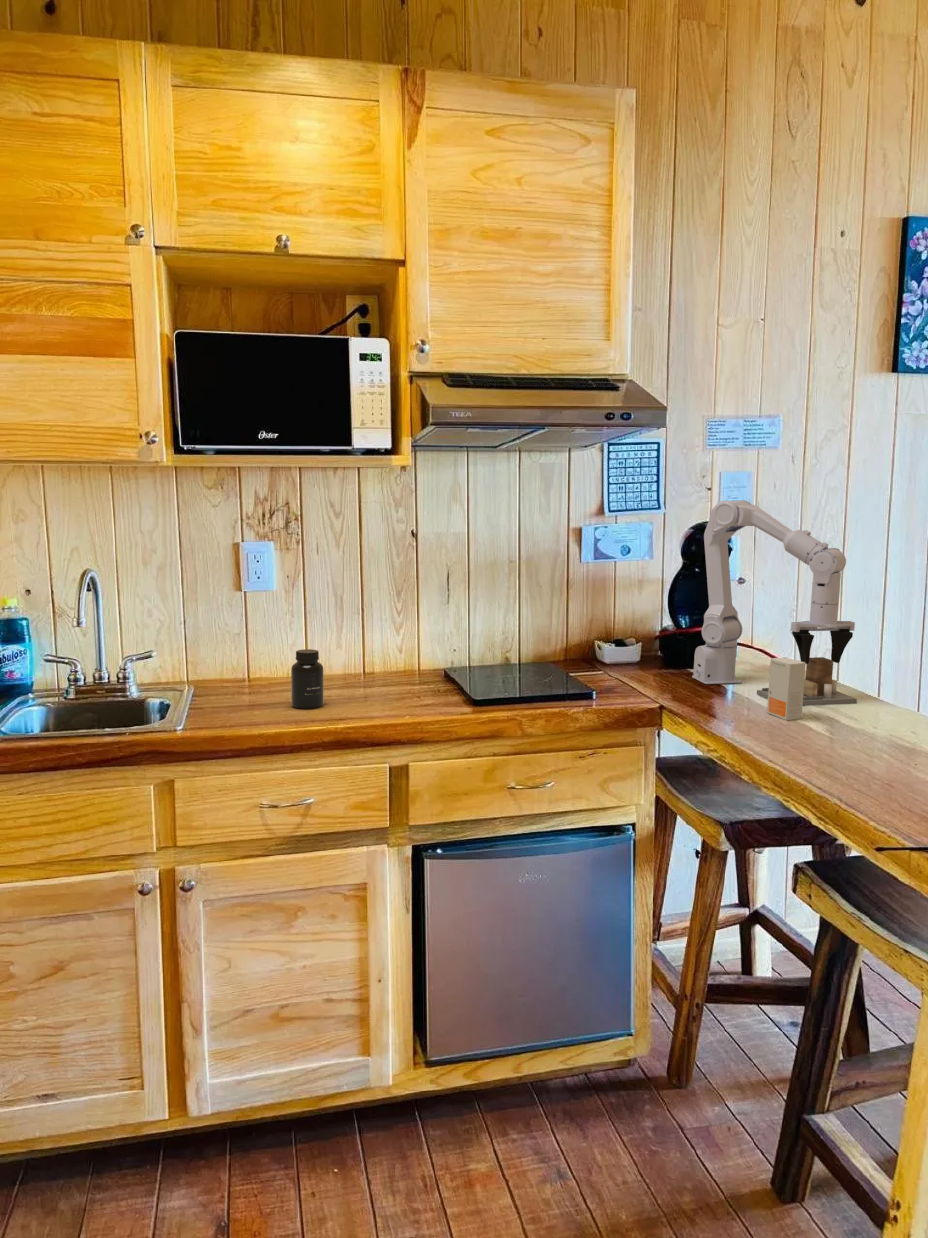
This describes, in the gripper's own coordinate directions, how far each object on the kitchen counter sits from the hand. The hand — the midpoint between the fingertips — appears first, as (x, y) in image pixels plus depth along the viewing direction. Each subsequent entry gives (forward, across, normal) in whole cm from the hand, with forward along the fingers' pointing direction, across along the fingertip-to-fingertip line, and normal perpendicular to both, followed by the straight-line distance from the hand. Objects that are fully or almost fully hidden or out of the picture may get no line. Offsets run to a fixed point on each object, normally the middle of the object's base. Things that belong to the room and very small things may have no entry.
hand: (820, 662), depth 195 cm
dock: (+8, -3, 0) cm, 9 cm away
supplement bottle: (+9, -114, +11) cm, 115 cm away
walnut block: (+7, 0, 0) cm, 7 cm away
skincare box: (+8, -16, -13) cm, 22 cm away
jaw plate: (+7, -3, 0) cm, 8 cm away
